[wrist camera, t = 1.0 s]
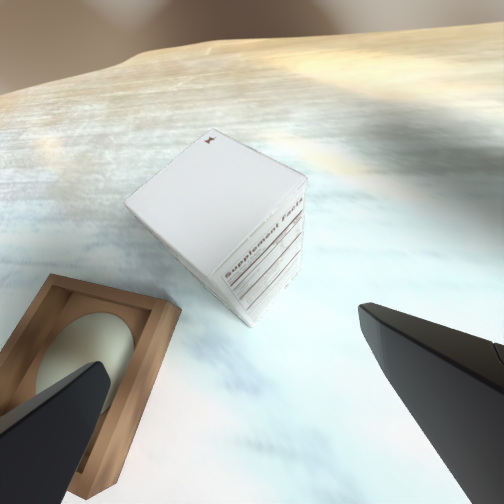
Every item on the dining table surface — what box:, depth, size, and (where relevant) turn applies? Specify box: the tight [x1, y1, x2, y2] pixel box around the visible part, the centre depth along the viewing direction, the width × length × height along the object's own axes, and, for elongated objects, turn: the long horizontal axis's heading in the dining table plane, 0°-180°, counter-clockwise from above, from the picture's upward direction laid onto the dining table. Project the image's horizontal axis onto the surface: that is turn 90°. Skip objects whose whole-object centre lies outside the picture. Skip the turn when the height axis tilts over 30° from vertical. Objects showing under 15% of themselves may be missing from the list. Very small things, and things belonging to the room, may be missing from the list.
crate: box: [0, 273, 182, 500], centre depth 21 cm, size 13×13×3 cm
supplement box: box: [124, 129, 308, 328], centre depth 18 cm, size 7×7×13 cm
